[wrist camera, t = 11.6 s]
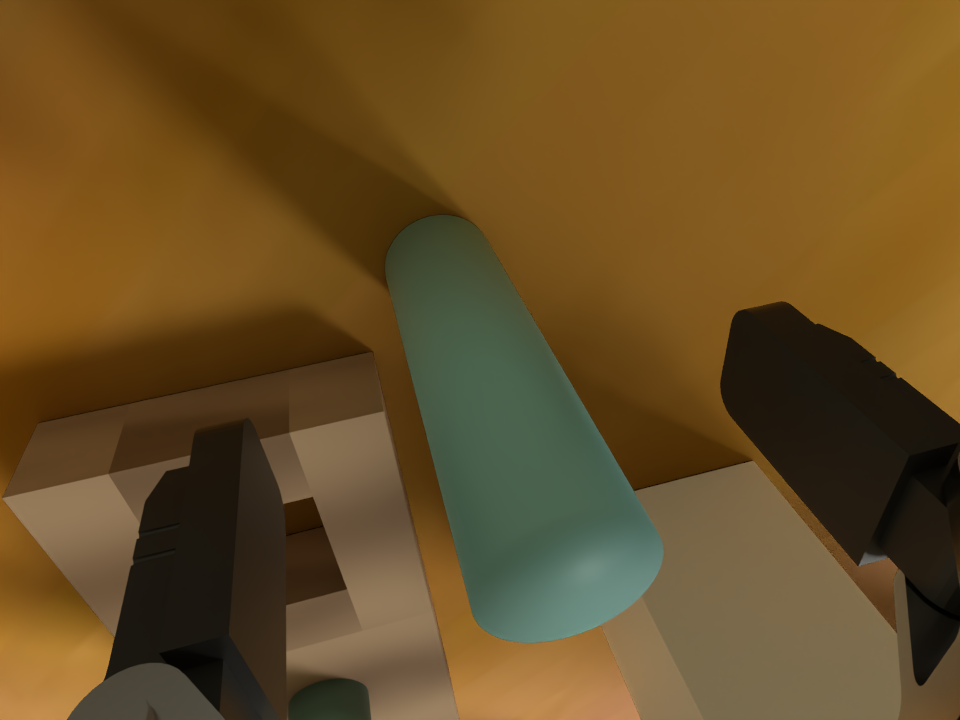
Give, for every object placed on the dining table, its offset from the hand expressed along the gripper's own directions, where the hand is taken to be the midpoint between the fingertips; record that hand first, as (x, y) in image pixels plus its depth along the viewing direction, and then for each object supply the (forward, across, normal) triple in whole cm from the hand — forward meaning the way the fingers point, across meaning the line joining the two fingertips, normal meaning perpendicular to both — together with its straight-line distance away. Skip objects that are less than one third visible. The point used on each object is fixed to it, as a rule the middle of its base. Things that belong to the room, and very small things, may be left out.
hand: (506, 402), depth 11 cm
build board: (+6, +6, +6) cm, 11 cm away
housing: (+6, -7, +13) cm, 16 cm away
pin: (+6, 0, 0) cm, 6 cm away
